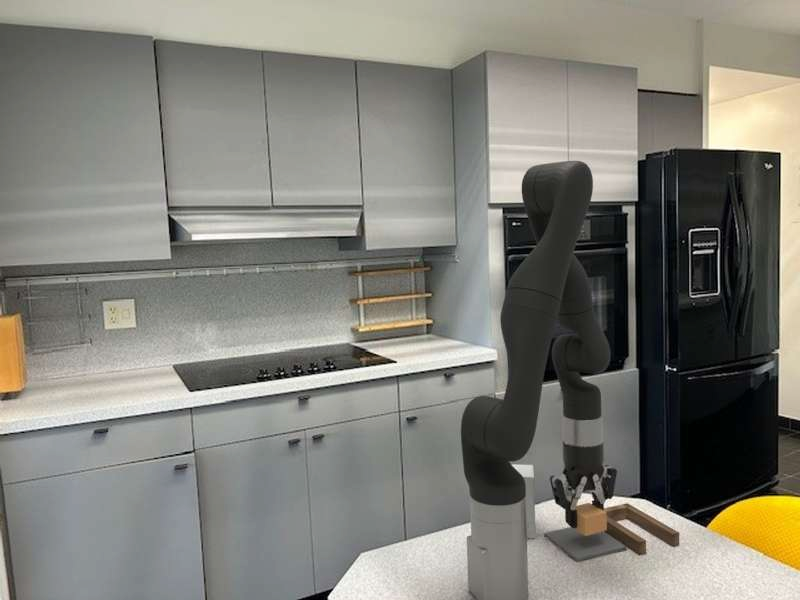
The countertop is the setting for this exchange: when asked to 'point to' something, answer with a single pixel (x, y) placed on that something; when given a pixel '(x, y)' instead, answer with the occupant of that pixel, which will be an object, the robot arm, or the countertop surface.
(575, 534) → the mat
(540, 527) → the countertop surface
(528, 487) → the supplement box
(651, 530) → the cubby
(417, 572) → the countertop surface
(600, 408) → the robot arm
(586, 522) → the block
